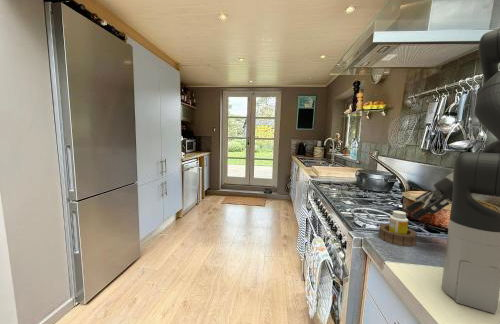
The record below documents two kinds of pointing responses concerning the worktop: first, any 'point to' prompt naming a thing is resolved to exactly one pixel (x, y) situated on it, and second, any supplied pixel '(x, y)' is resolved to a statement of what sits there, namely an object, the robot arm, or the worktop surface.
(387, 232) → the walnut collar
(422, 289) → the worktop surface
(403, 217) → the supplement bottle
